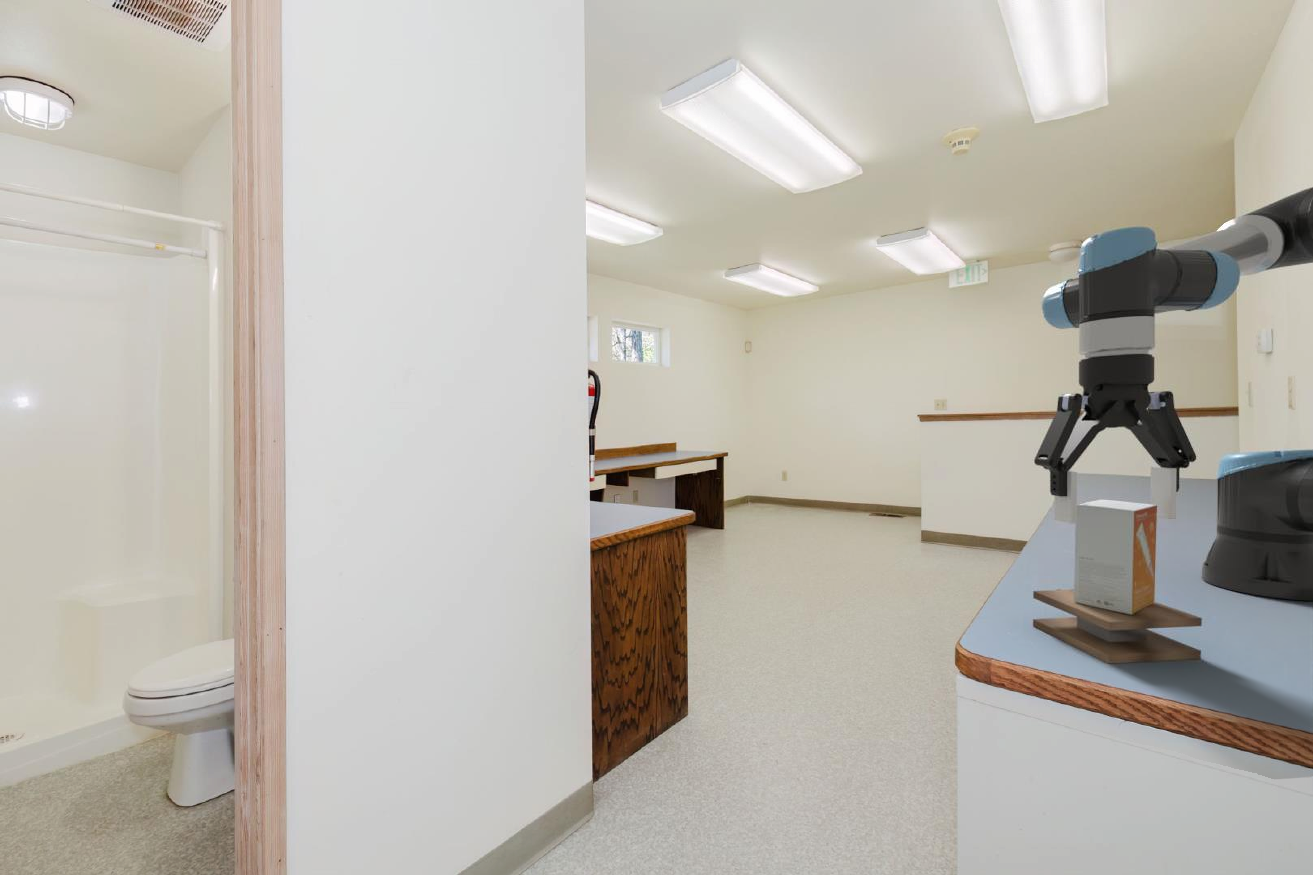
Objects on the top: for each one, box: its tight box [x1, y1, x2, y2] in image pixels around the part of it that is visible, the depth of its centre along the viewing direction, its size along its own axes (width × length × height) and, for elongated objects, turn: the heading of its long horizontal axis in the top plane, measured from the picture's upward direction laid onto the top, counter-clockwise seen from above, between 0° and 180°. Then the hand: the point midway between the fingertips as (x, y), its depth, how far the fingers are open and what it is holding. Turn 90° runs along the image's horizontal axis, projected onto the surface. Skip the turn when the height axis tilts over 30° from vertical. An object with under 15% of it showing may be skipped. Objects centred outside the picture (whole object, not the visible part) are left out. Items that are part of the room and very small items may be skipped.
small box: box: [1073, 499, 1158, 615], centre depth 73 cm, size 8×6×13 cm
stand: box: [1032, 588, 1203, 664], centre depth 73 cm, size 12×12×5 cm
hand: (1114, 519), depth 73 cm, fingers open, 13 cm apart
